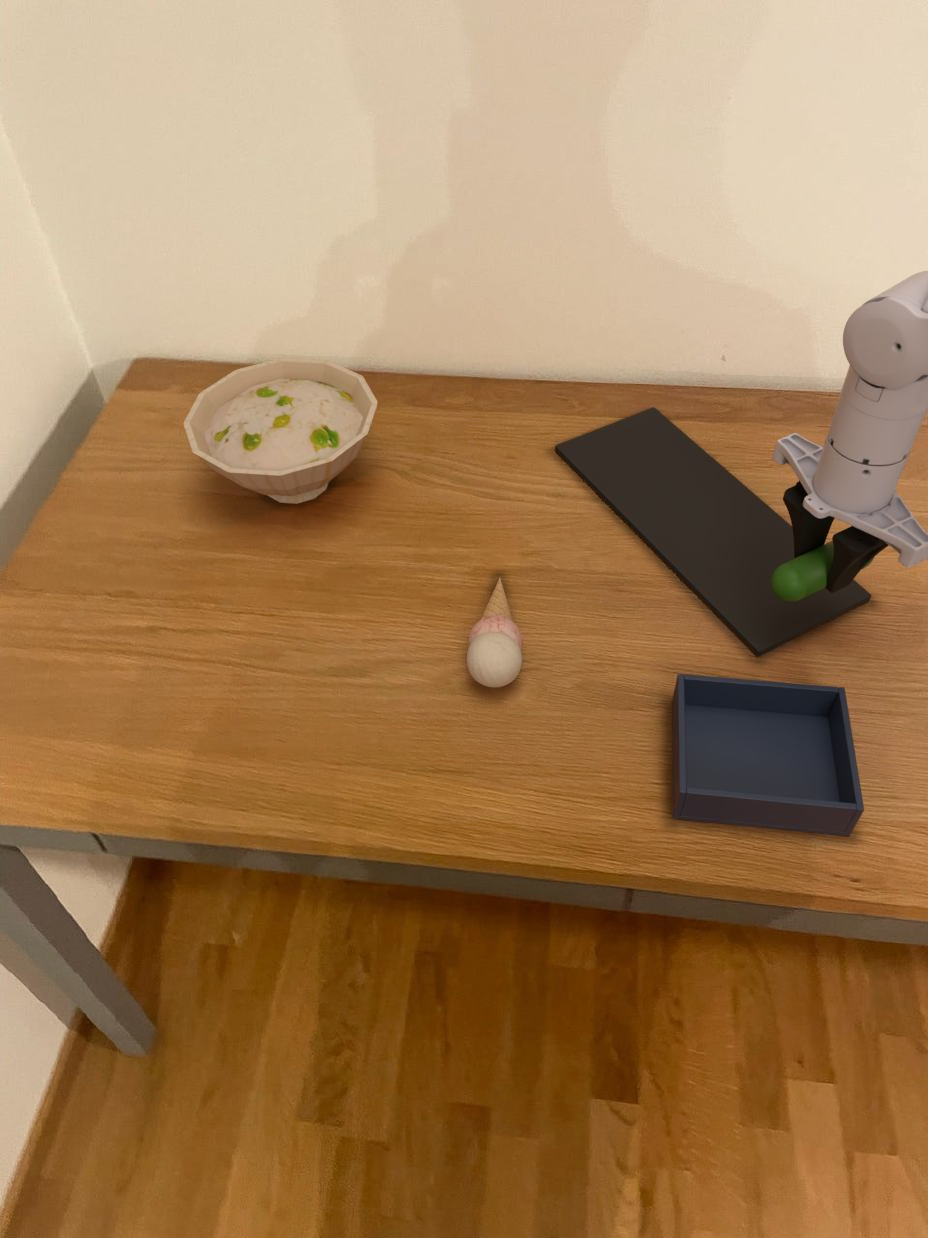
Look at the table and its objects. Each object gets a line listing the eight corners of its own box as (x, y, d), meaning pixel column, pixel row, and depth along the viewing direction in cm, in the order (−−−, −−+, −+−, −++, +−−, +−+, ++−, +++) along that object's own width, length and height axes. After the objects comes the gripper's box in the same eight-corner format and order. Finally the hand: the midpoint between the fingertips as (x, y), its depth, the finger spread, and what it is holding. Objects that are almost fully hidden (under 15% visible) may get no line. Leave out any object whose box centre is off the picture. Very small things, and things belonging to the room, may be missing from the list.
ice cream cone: (489, 603, 90) (481, 706, 78) (466, 567, 88) (454, 666, 76) (533, 586, 88) (531, 688, 76) (510, 548, 86) (505, 647, 74)
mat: (869, 601, 84) (872, 595, 84) (757, 657, 81) (759, 651, 80) (653, 412, 104) (653, 406, 103) (554, 451, 100) (554, 445, 99)
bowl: (381, 416, 105) (371, 339, 98) (393, 533, 93) (382, 454, 85) (211, 434, 104) (187, 357, 97) (199, 555, 92) (171, 477, 84)
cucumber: (849, 546, 80) (860, 519, 77) (877, 569, 78) (889, 542, 75) (758, 590, 77) (766, 563, 74) (785, 615, 75) (794, 588, 72)
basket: (831, 716, 76) (844, 687, 73) (849, 836, 69) (864, 810, 66) (671, 702, 78) (677, 673, 75) (672, 818, 71) (679, 792, 68)
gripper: (757, 406, 69) (726, 536, 80) (904, 519, 61) (848, 649, 71) (829, 377, 71) (789, 507, 82) (981, 483, 63) (915, 614, 73)
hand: (821, 571), depth 77 cm, fingers closed on cucumber, 3 cm apart
